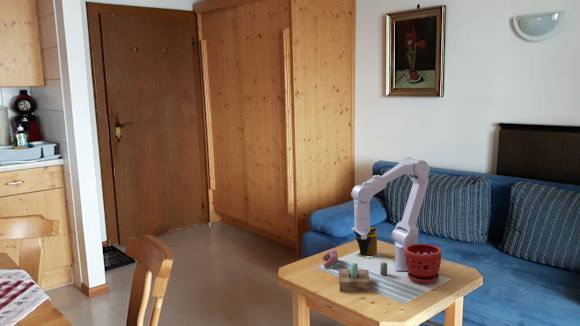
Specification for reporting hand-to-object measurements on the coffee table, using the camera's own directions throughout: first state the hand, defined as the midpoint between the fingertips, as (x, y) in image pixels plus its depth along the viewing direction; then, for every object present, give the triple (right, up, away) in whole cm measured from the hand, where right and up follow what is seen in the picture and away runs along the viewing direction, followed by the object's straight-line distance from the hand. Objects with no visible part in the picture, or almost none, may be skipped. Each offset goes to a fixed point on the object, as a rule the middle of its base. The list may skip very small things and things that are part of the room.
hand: (362, 251), depth 185 cm
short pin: (+9, -10, +3) cm, 13 cm away
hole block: (-4, -11, -5) cm, 13 cm away
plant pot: (+22, -10, -2) cm, 25 cm away
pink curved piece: (-11, -8, +16) cm, 21 cm away
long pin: (-4, -12, -5) cm, 13 cm away
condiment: (+6, -6, +25) cm, 26 cm away
